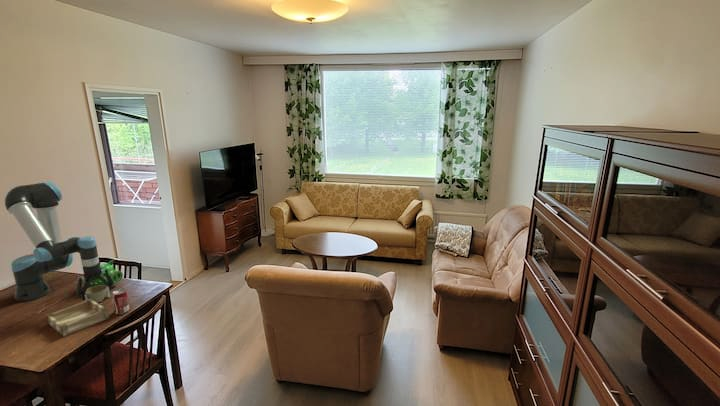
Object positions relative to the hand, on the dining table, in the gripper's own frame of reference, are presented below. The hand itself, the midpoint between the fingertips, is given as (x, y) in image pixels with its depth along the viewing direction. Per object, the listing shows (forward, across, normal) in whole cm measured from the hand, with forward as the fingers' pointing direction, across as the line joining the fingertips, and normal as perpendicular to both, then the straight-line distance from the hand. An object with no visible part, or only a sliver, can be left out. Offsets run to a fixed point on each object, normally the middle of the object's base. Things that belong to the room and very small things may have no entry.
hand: (97, 300), depth 194 cm
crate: (0, -14, -14) cm, 20 cm away
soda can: (+1, +2, -23) cm, 23 cm away
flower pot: (+1, 0, 0) cm, 1 cm away
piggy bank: (+1, +10, +17) cm, 20 cm away
